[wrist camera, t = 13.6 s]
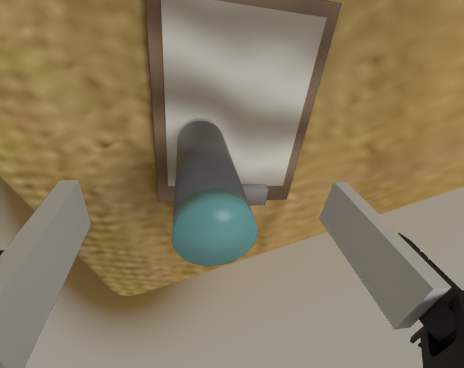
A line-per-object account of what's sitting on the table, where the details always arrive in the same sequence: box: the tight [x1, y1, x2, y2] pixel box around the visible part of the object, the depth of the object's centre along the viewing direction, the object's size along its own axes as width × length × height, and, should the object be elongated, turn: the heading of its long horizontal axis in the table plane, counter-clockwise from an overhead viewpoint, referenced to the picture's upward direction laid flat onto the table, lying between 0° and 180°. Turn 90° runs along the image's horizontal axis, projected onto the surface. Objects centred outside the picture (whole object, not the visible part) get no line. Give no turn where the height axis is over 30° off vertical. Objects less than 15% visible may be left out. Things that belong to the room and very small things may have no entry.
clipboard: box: [145, 0, 342, 205], centre depth 21 cm, size 18×14×2 cm
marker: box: [172, 118, 257, 266], centre depth 16 cm, size 4×4×12 cm
